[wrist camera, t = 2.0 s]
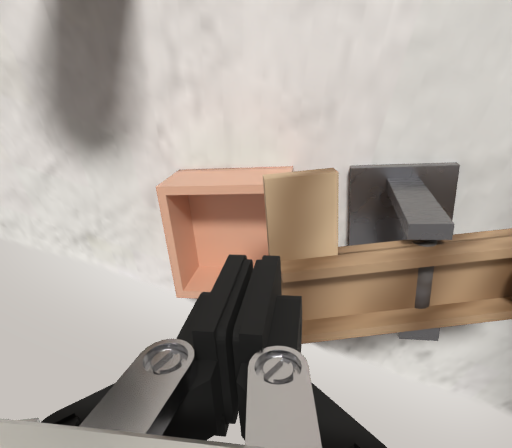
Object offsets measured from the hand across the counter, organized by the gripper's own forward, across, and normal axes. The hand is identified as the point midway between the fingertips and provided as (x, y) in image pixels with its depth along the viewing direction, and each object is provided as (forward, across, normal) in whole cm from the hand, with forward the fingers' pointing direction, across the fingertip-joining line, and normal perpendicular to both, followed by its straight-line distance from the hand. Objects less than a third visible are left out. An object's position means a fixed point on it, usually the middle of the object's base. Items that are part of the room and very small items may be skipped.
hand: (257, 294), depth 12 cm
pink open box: (+21, +5, +6) cm, 22 cm away
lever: (+12, -8, +3) cm, 15 cm away
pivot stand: (+21, -9, +6) cm, 23 cm away
